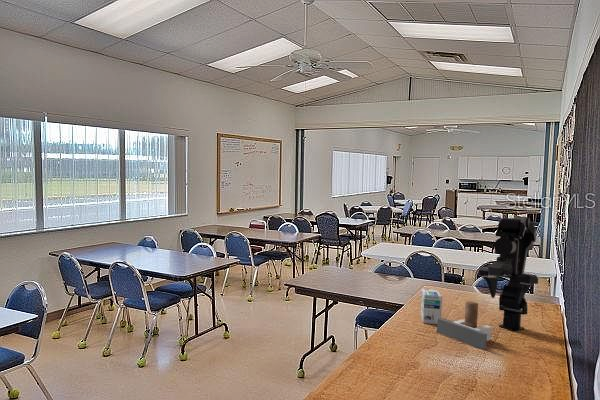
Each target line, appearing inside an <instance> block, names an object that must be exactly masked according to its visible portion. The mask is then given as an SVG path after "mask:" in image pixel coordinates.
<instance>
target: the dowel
mask: <svg viewBox="0 0 600 400" xmlns="http://www.w3.org/2000/svg"><path fill="white" fill-rule="evenodd" d="M464 305H465V307H464V309H465V310H464V319H465V321H464V325H466V326H469V327H472V328H477V327H478V314H479V303H478V302H474V301H466V302H465V304H464Z"/></svg>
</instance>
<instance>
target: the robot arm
mask: <svg viewBox="0 0 600 400" xmlns="http://www.w3.org/2000/svg"><path fill="white" fill-rule="evenodd" d="M495 237H499V238H497V239H496V240H495V241H494V243H493V249H494V251H495V252H496V254H498V255H499V256H497V258H496V261H495V262H492V263H490V264H488V265H487V267H483V266H480V268H479V269H478V273H477V274H478V276H481V278H482V279H484V281H486V283H487V286H488V289H489V293H490V298H491V299H495V298H496V294H497V287H498V281H499V278H504V279H505V278H506V279H508V283H507V284H505V285H503V288H502V290H501V291H502V292H501V293H500V294H499V298H498V302H499V303H498V309H499V310H498V311H503V316H502V317H503V319H502V324H498V327H500V328H502V329H506V330H509V331H512V332H519V331H521V330H525V327H524V326H521V324H522V323H521V322H522V316H525V315H528V302H527V299H526V297H525V295H526V293H527V292H528V291H529V289H530V288H531V287H534V286H535V285H537V284H539V277H538V276H537V275H536V274H531V273H525V269H526V264H527V263H526V262H527V257H528V253H529V252H530V250H532V249H533V248H534V244H535V243H536V242H537V228H536V226H535V225H534V224H533V223H532V222H531V219H530V217H527V216H519V215H517V216H514V217H502V218H501V219H500V220H499V221H498V225H497V228H496V232H495Z"/></svg>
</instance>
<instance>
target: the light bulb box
mask: <svg viewBox="0 0 600 400" xmlns="http://www.w3.org/2000/svg"><path fill="white" fill-rule="evenodd" d="M420 304H421V305H420V317H421V320H422V323H423V324H430V325H437V323H438V318H442V310H443V309H442V308H443V295H442V294H441V292H440V289H429V288H421V303H420Z"/></svg>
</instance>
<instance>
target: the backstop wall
mask: <svg viewBox="0 0 600 400" xmlns="http://www.w3.org/2000/svg"><path fill="white" fill-rule="evenodd" d="M436 327H437V330H436V333H437V334H439V333H440V335H442V334H443V335H442V336H444V335H446V336H445V337H447V336H448V338H450V337H451V339H453V338H454V339H453V340H455V339H456V341H458V342H461V343H464V344H466V345H469V346H471V347H474V348H477V349H479V350H486V349H487V342H488V341H487V333H484V332H481V331H478V330H475V329H472V328H469V327H466V326H463V325H460V324H457V323H454V321H451V320H447V319H446V318H445V319H444V318H442V317H441V318H438V323H437V324H436Z"/></svg>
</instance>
